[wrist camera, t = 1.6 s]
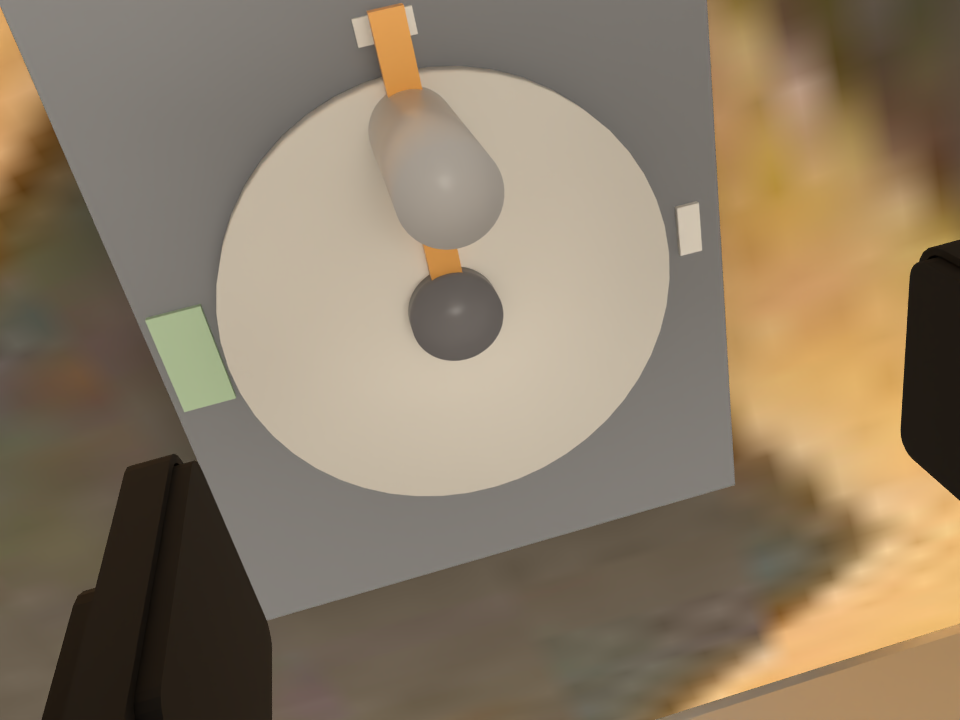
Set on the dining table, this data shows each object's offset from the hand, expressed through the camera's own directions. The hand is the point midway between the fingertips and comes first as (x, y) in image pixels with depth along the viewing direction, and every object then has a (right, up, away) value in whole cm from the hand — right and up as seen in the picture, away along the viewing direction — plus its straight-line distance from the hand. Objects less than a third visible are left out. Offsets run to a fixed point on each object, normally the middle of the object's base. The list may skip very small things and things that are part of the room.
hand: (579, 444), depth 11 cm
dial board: (-3, +4, +20) cm, 21 cm away
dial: (-3, +4, +18) cm, 19 cm away
